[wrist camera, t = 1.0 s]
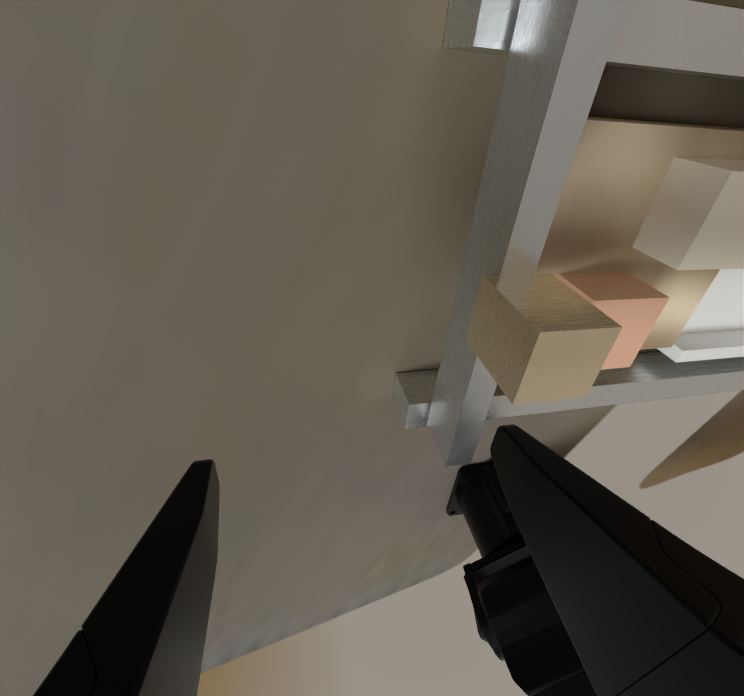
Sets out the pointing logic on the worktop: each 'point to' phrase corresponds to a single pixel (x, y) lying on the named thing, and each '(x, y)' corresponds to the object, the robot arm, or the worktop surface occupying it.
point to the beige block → (697, 216)
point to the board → (630, 208)
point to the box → (714, 322)
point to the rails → (629, 50)
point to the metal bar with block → (526, 234)
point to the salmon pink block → (621, 309)
